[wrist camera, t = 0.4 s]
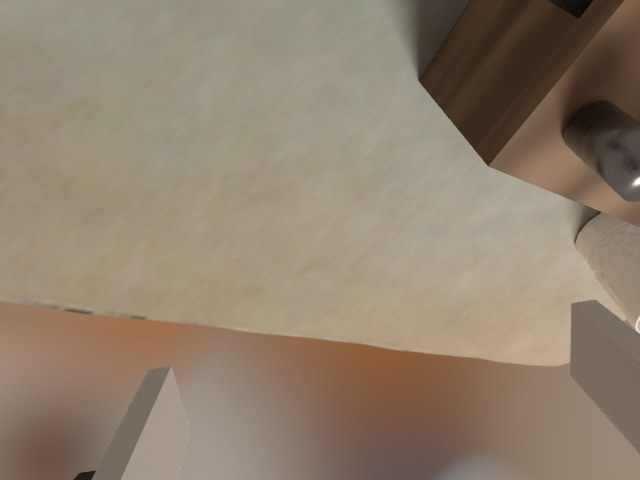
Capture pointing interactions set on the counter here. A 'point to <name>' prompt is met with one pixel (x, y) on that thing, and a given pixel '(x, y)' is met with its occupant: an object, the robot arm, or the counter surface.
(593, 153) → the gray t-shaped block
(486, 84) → the platform
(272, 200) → the counter surface
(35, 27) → the counter surface
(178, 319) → the counter surface
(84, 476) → the robot arm
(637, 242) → the white cup
